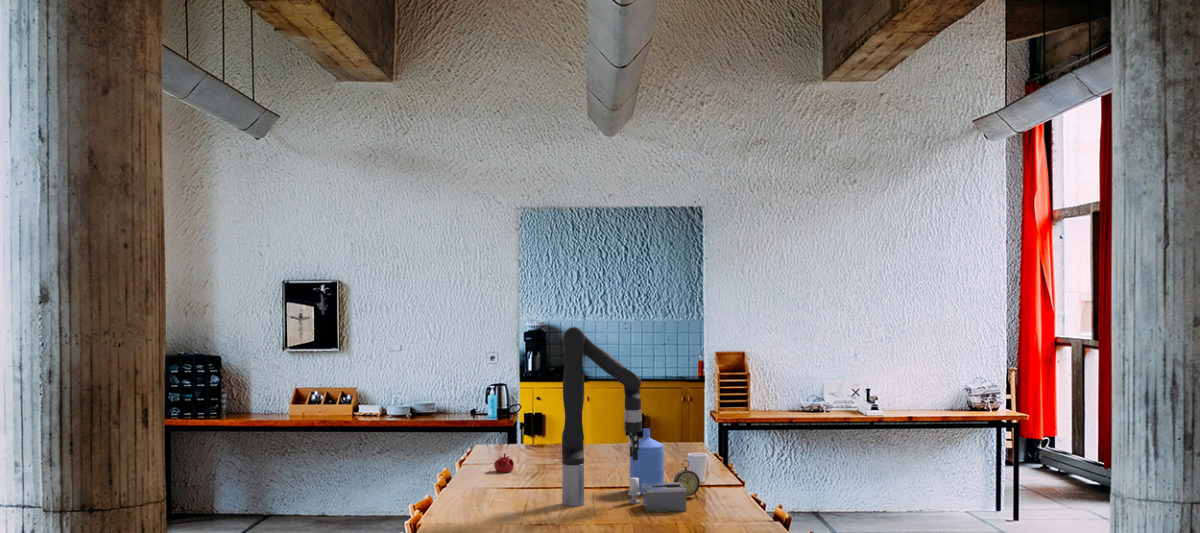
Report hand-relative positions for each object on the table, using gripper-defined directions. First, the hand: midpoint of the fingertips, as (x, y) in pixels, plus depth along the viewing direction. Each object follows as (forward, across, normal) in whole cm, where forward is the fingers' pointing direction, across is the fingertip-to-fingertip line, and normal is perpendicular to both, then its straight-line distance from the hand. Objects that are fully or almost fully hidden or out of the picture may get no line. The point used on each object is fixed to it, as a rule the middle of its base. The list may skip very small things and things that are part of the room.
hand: (633, 458), depth 388 cm
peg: (+19, 0, 0) cm, 19 cm away
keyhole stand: (+19, +11, +11) cm, 25 cm away
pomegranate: (+19, -79, -56) cm, 99 cm away
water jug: (+19, -23, +9) cm, 31 cm away
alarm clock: (+19, -7, +24) cm, 31 cm away
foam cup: (+20, -40, +36) cm, 57 cm away
